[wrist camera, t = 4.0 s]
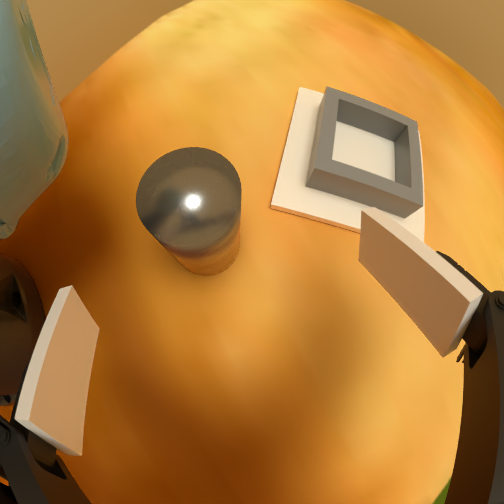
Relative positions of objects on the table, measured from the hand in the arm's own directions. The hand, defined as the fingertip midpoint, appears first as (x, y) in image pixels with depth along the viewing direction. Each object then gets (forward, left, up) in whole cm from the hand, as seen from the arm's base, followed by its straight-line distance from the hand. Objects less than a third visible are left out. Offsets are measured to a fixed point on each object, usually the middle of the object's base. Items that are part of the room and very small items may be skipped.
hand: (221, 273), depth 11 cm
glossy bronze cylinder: (-3, +3, -9) cm, 10 cm away
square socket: (+8, +14, -9) cm, 19 cm away
